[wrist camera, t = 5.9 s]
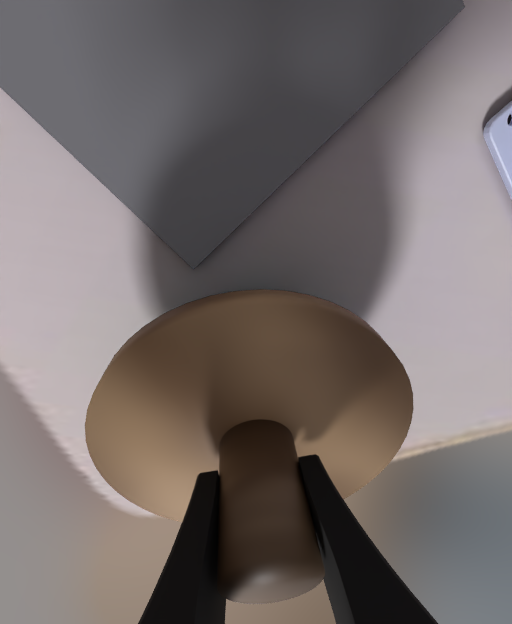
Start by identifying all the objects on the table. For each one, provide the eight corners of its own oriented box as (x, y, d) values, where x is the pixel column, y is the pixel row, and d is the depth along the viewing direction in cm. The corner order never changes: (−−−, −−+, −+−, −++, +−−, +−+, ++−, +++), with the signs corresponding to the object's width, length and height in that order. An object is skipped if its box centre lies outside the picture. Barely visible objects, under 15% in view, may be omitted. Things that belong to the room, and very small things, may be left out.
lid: (264, 203, 8) (316, 274, 3) (447, 412, 13) (563, 549, 8) (31, 435, 11) (-95, 622, 7) (249, 529, 16) (258, 671, 12)
